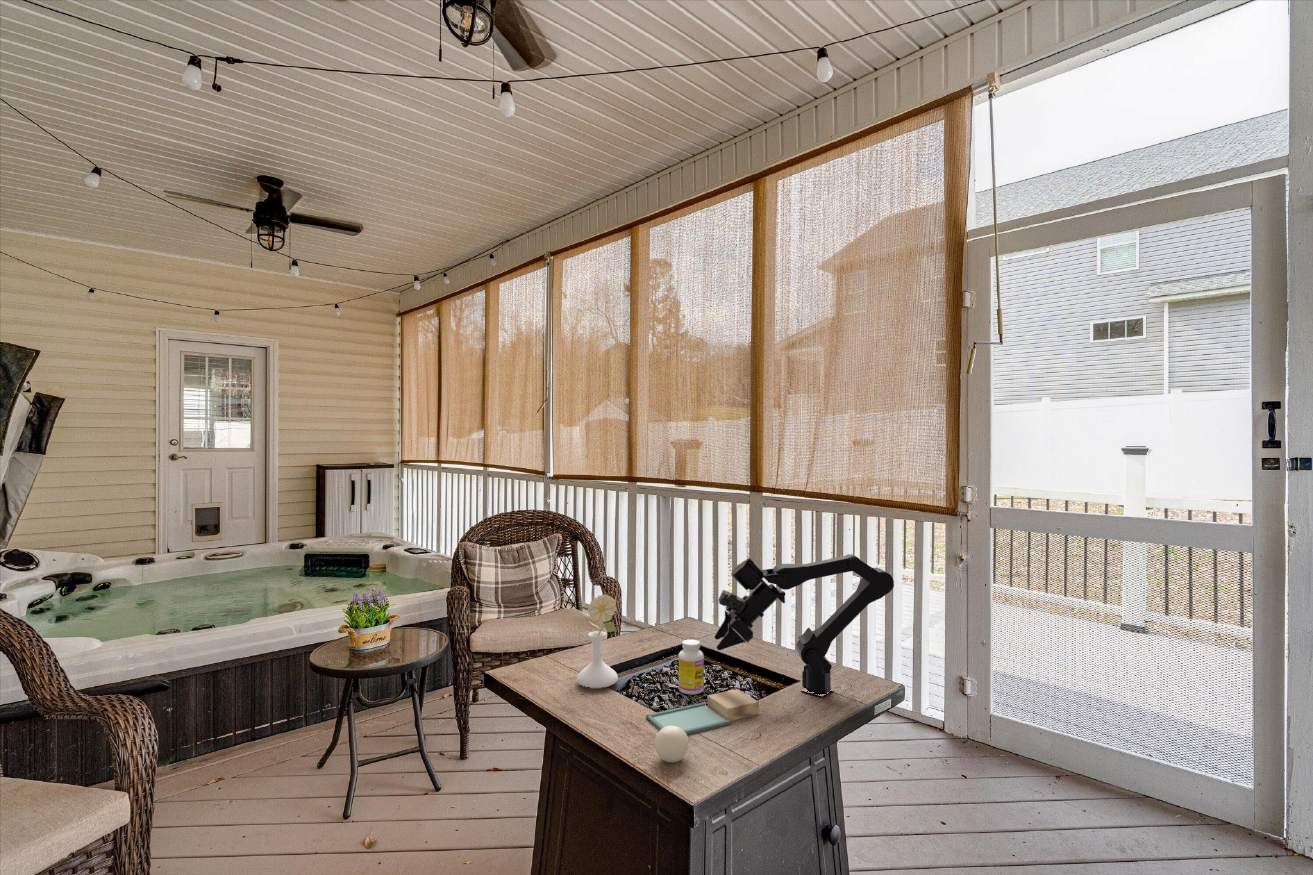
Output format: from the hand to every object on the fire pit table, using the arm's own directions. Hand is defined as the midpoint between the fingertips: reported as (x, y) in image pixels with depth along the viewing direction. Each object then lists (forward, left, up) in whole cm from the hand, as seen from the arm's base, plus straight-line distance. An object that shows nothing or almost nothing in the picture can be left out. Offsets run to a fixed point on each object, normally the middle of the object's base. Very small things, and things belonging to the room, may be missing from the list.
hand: (716, 643), depth 164 cm
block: (-11, +8, -12) cm, 18 cm away
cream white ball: (-16, +35, -13) cm, 41 cm away
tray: (-6, +20, -12) cm, 24 cm away
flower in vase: (+26, +18, -13) cm, 34 cm away
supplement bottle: (+5, +4, -13) cm, 14 cm away
